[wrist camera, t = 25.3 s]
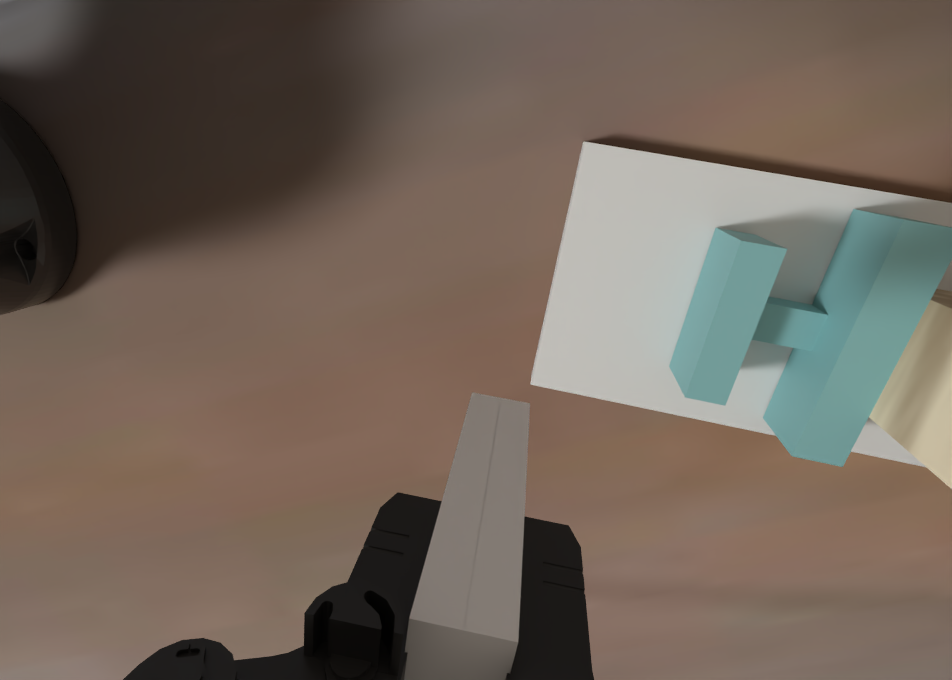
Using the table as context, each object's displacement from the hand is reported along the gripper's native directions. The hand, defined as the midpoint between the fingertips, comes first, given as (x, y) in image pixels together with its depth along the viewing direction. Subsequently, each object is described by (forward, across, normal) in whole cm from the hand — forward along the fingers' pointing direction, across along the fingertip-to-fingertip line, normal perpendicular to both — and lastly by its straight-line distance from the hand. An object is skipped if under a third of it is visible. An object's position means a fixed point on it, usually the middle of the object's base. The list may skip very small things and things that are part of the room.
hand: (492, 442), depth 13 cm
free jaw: (+16, +14, +1) cm, 21 cm away
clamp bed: (+18, +14, +1) cm, 23 cm away
